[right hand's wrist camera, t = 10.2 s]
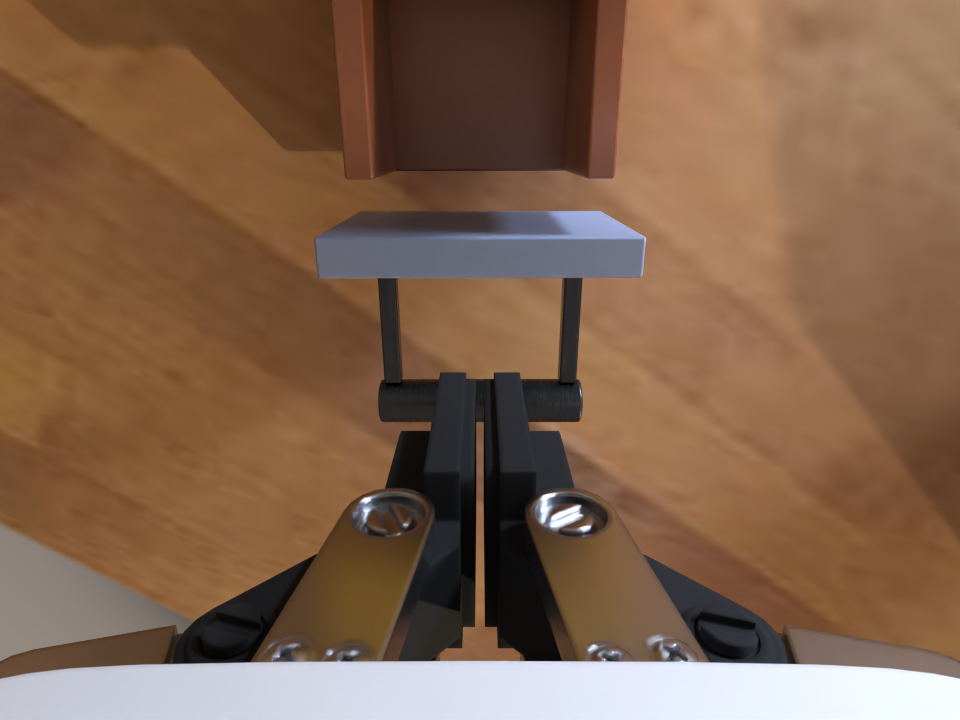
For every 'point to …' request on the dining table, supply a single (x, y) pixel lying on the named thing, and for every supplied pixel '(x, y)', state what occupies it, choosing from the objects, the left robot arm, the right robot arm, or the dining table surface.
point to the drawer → (479, 160)
